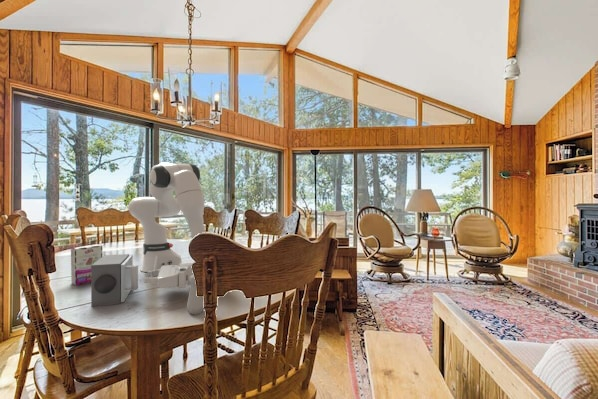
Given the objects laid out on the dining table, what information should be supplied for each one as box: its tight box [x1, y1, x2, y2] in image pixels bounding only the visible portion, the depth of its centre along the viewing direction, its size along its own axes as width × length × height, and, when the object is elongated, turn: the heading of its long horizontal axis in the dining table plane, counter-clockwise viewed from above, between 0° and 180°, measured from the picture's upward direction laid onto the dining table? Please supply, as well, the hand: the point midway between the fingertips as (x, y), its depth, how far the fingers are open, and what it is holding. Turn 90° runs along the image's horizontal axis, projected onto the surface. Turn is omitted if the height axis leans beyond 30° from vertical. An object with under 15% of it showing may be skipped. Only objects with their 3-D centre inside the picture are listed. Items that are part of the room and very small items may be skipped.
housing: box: [90, 253, 130, 308], centre depth 116 cm, size 20×9×15 cm, turn 20°
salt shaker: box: [186, 275, 204, 316], centre depth 103 cm, size 6×6×13 cm
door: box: [121, 254, 139, 303], centre depth 120 cm, size 18×5×14 cm, turn 20°
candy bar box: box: [70, 243, 103, 286], centre depth 136 cm, size 11×5×16 cm, turn 148°
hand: (146, 276), depth 116 cm, fingers open, 8 cm apart
